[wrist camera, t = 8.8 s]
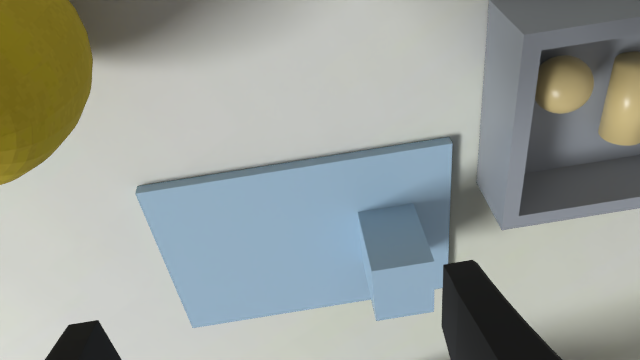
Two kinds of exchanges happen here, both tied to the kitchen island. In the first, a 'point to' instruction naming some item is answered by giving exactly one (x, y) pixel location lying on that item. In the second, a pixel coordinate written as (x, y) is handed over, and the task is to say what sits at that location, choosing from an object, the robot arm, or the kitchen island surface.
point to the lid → (308, 234)
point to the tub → (560, 110)
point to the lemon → (40, 80)
